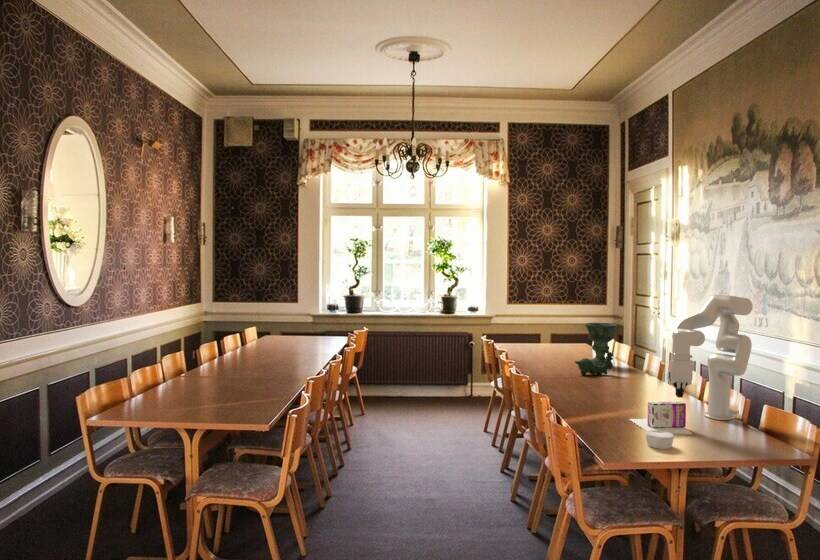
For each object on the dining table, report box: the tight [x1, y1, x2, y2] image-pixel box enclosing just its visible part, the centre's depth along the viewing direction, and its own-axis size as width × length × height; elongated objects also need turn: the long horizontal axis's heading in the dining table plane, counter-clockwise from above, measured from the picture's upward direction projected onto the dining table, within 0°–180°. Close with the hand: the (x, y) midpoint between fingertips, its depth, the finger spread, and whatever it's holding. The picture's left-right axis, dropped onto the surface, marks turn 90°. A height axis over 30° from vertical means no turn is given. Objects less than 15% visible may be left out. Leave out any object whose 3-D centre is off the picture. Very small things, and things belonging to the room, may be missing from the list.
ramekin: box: [645, 430, 675, 450], centre depth 266 cm, size 11×11×5 cm
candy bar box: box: [647, 401, 687, 428], centre depth 295 cm, size 11×5×16 cm
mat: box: [628, 418, 693, 435], centre depth 296 cm, size 19×24×1 cm
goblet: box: [584, 322, 619, 368], centre depth 457 cm, size 22×23×30 cm
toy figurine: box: [574, 349, 614, 377], centre depth 422 cm, size 9×19×25 cm
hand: (679, 396), depth 296 cm, fingers closed
